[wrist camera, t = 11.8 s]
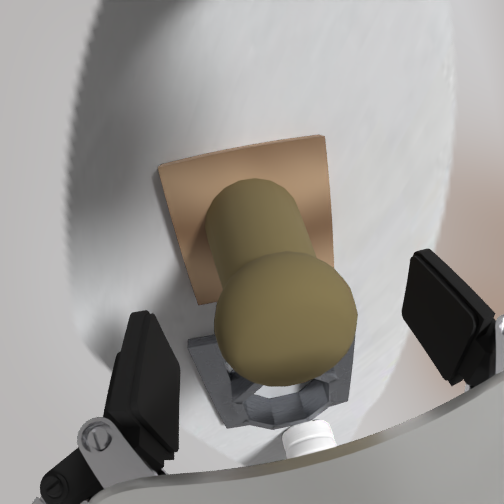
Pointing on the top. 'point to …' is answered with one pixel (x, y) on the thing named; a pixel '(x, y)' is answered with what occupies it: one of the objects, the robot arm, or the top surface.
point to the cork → (274, 288)
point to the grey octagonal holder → (242, 390)
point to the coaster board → (240, 168)
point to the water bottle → (308, 438)
